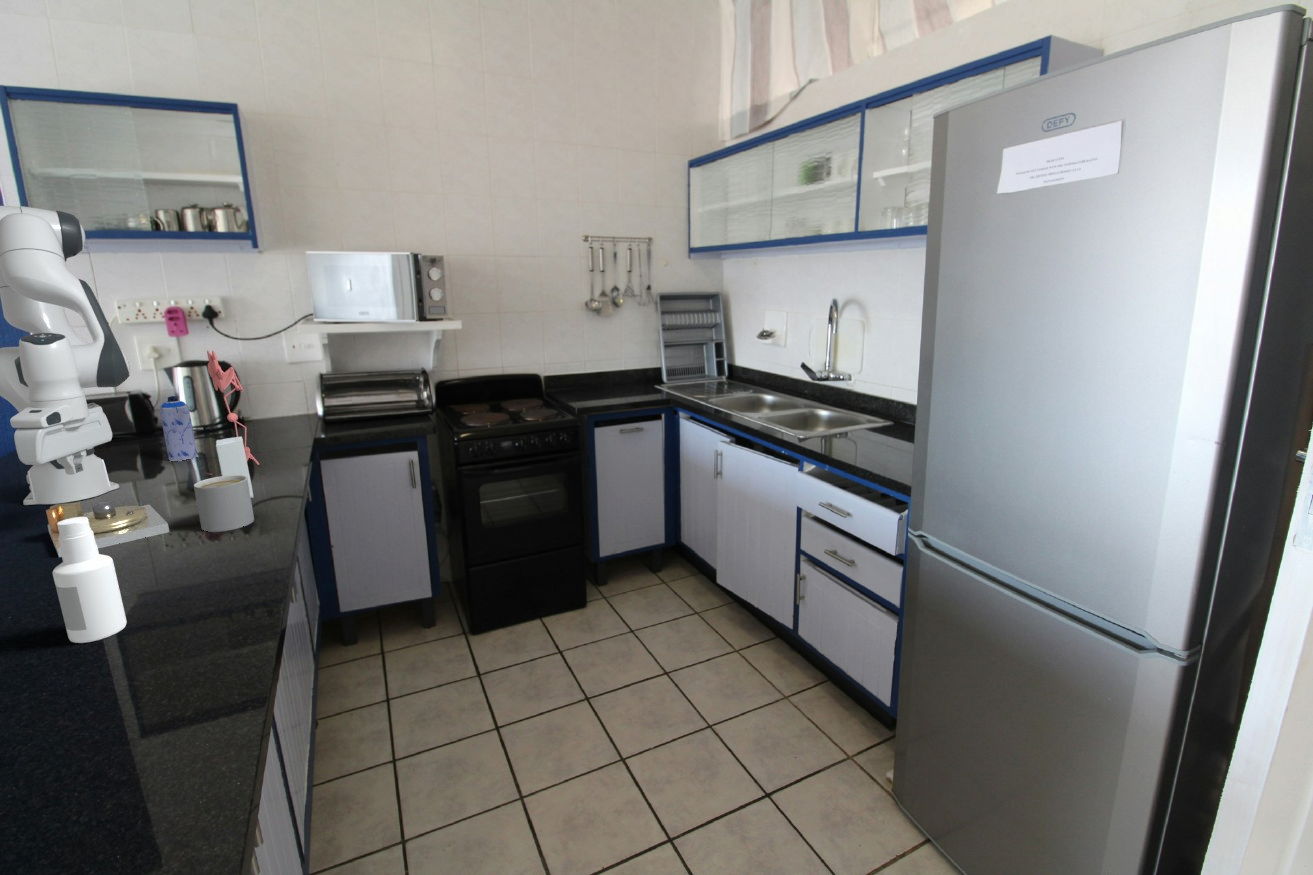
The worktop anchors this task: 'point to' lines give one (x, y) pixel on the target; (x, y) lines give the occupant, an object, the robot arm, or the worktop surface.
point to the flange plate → (117, 519)
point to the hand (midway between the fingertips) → (75, 472)
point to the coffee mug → (224, 503)
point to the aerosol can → (178, 430)
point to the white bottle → (87, 585)
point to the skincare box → (233, 458)
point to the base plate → (133, 532)
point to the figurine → (223, 382)
